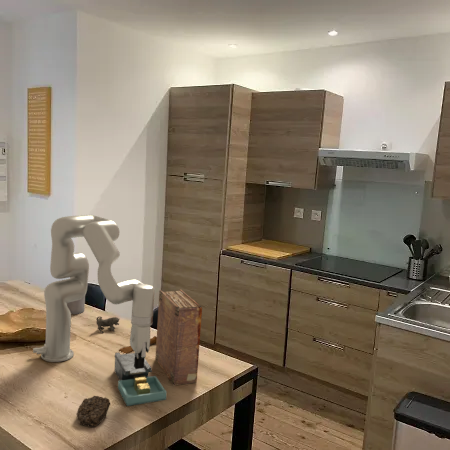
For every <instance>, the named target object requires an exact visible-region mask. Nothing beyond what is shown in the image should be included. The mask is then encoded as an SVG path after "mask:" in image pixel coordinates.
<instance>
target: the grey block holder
mask: <svg viewBox="0 0 450 450" xmlns="http://www.w3.org/2000/svg"><path fill="white" fill-rule="evenodd" d="M114 353H115V354H114V373H115V375H116V376H117V378H118V381H120V380H128V379H134V376H144V375H145V377H149V373H153V370H152V366H151V365H150V364H149V362H148V361H147V359H146V357H145V358H144V368H140V369H135V367H134V359H135V357H136V356H135V352H130V353H128V354H124V353H122V354H121V352H120V351H118V352H114Z"/></svg>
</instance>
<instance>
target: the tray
mask: <svg viewBox="0 0 450 450" xmlns="http://www.w3.org/2000/svg"><path fill="white" fill-rule="evenodd" d="M146 379H147V381H146V383H148V384H149V386H150V393H148V394H141V395H137V392H136V391H135V389H134V387H133V386H134V379H128V380H117V389H118V392H119V393H120V396H121V397H122V400H123V401H124V403H125V406H126V407H130V406H134V405H135V406H136V405H142V404H150V403H155V402H161V401H166V400H167V390H166V388H164V386H163V384H162V383H161V382H160V380H159V378H158V377H157V376H156V375H151V376H148V377H146Z"/></svg>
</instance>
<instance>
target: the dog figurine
mask: <svg viewBox="0 0 450 450" xmlns="http://www.w3.org/2000/svg"><path fill="white" fill-rule="evenodd" d="M119 322H120V318H119V317H116V316H111V317H108V318H105V319H103V317H102V316H97V317H96V323H95V324H96V325H97V330H98V331H99V332H100V333H101V334H104V331H103V330H104V329H105V328H106V327H107V330H109V331H112V332H115V331H116V330H115V327H116V326H119V325H120V323H119Z"/></svg>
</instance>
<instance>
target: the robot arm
mask: <svg viewBox="0 0 450 450" xmlns="http://www.w3.org/2000/svg"><path fill="white" fill-rule="evenodd" d="M50 236H51V253H50V266H49V267H50V270H49V271H50V275H51V276H52V278H54V279H57V280H56V281H53V282H50V283H49V284H48V285H46V286H45V288H44V290H43V297H44V301H45V313H46V314H45V315H46V316H45V317H46V318H45V343H44V344H43V346H41V347H33V348H32V351H33V352H32V353H34V354H35V353H36V355H40V356H41V357H40V358H41V359H42V360H44V361H46V362H50V363H59V362H65V361H68V360H70V359H72V358H73V357H74V355H75V353H74V350H73V349H71V328H72V327H71V323H72V314H71V313H70V310H69V309H68V307H67V303H69V302H72V301H76V300H79V299H82V298H83V297H84V296H85V297H86V294H87V291H88V284H89V283H88V282H89V272H90V271H89V270H90V264H89V260H88V258H87V256H86V255H85V254H84V253H82V252H75V243H74V241H73V239H74V238H83V237H84V240H85V242H86V243H87V245H88V246H89V249H90V250H91V252H92V254H93V255H94V257H95V259H96V261H97V262H98V263H97V264H98V268H97V282H98V286H99V288H100V290H101V292H102V294H103V295H104V297H105V298H106V300H107V301H108V302H109V303H111V304H112V305H120V304H124V303H127V302H132V305H131V320H130V321H131V322H130V323H131V327H130V334H129V335H130V337H129V346H131V347H132V349H133V350H134V351H133V353H135V356H136V357H135V359H134V367H135V369H140V368H144V358H145V359H146V356H147V354H149V353H150V347H151V346H150V339H151V326H152V325H153V323H154V321H153V318H154V307H155V306H154V305H155V290H156V288H155V287H154V286H153V285H152V284H151V285H150V284H146V283H143V282H141V281H140V280H137V279H134V278H132V279H127V280H122V281H118V282H116V280H115V278H114V275H113V274H112V265H113V264H114V263H115V262H116V261H117V260H118V259H119V257H120V253H121V252H120V251H119V249H118V247H117V245H116V244H115V241H117V240H118V238H119V237H120V229H119V226H118V224H117V223H116V222H115V221H113V220H111V219H108V218H104V217H100V216H99V215H98V216H97V215H93V214H89V215H88V214H86V215H85V214H84V215H82V214H81V215H67V216H62V217H59V218H57V219H55V220H54V222H53V223H52V225H51V228H50ZM67 278H68V279H67Z"/></svg>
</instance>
